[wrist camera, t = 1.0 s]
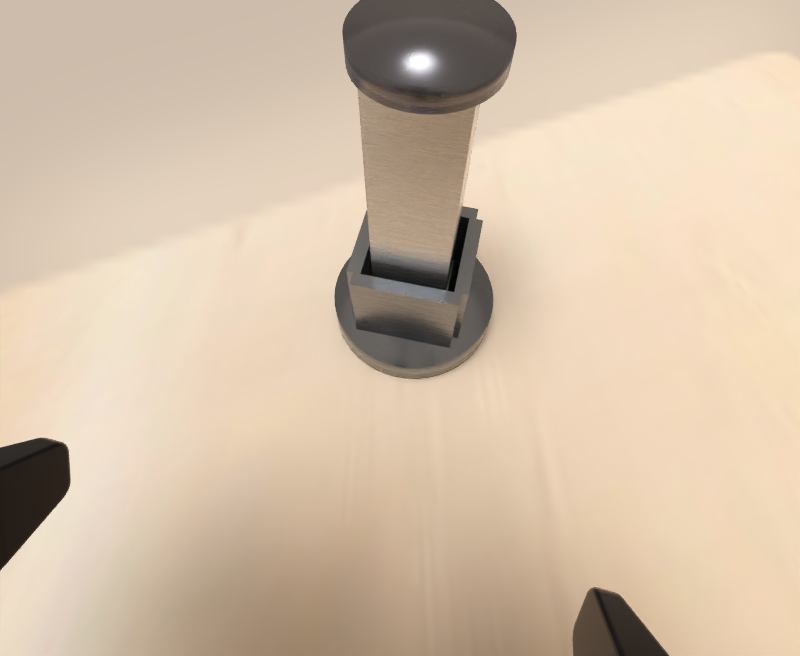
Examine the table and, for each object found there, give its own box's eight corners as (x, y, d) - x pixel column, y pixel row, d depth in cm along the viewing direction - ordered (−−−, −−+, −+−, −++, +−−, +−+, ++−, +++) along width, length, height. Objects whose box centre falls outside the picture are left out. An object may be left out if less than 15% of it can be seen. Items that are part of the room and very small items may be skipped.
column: (451, 339, 23) (504, 99, 12) (357, 320, 24) (320, 71, 12) (466, 262, 25) (525, -8, 14) (380, 245, 26) (367, -28, 14)
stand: (476, 393, 24) (497, 342, 19) (318, 360, 25) (298, 302, 20) (497, 262, 27) (520, 189, 22) (359, 236, 28) (351, 160, 23)
